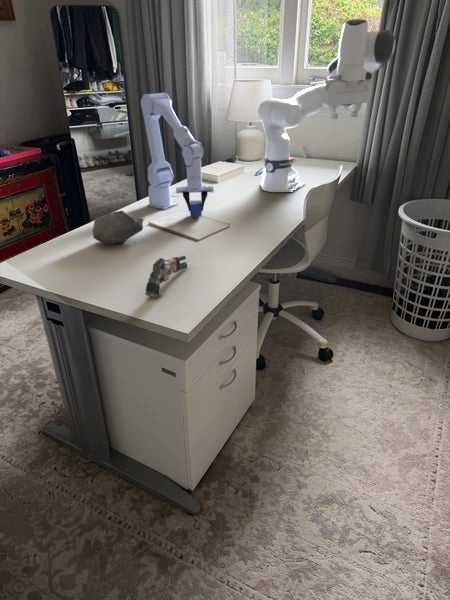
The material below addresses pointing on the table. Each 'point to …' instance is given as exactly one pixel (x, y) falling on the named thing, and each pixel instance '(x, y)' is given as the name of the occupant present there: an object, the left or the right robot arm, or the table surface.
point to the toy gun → (163, 273)
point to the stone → (116, 227)
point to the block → (195, 208)
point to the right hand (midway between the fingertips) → (344, 117)
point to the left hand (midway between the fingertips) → (195, 210)
